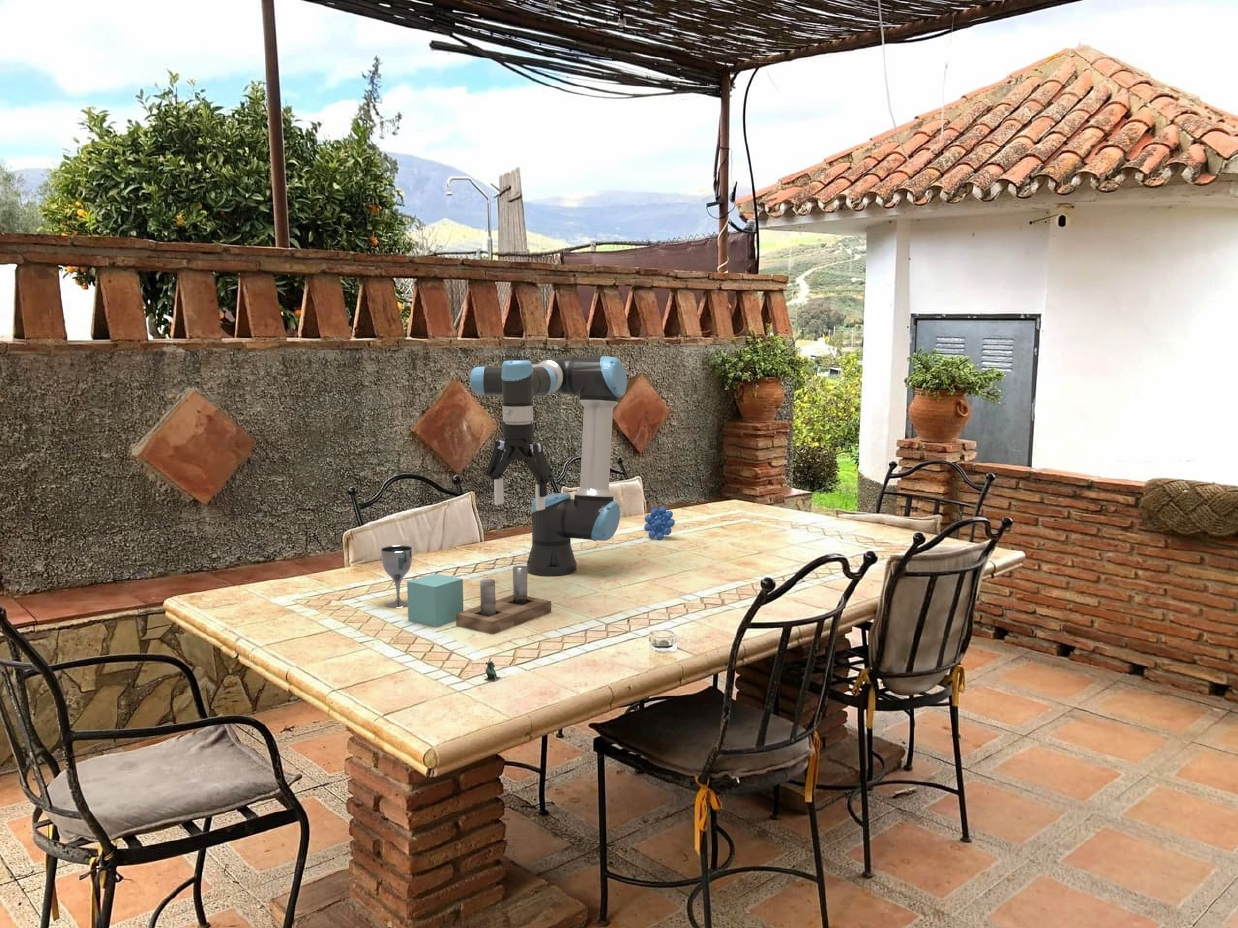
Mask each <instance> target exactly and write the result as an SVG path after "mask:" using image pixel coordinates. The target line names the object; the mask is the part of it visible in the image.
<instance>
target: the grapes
mask: <svg viewBox="0 0 1238 928" xmlns="http://www.w3.org/2000/svg"><path fill="white" fill-rule="evenodd" d="M673 515H674V513H673V510H667V508H666V506H664V505H663V506H662V505H661V506H659V508H657V507H652V508H651V509H650V513H649V514H646V515H645V517H644V522H646V524H644V525H643V526H644V527H643V529H644V531H645V532H648V537H649V538H650V539H655V538H656V539H657V540H663V538H665V536H669V535H670V534H672V528H673V527H674V526H675V524H676V521H675V519H674V518H673Z"/></svg>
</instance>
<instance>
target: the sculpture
mask: <svg viewBox="0 0 1238 928" xmlns="http://www.w3.org/2000/svg"><path fill="white" fill-rule="evenodd" d="M485 665H487V667H486V668H485V673H486V676H487V677H486V678H485V679H484V681H485V682H486V681H487V682H493V683H496V682H498V681H499V680H502V677H500V676H498V675H497V673H496V670H495V667H496V666H495V664H494V662H493V660H491V661H487V662H485Z"/></svg>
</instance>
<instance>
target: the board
mask: <svg viewBox="0 0 1238 928" xmlns="http://www.w3.org/2000/svg"><path fill="white" fill-rule="evenodd" d="M479 584H480V585H479V586H480V587H479V589H480V593H479V595H480V605H478V606H475V607H472V608H468V609H465V610H464V611H462V612H459V613H456V621H455V625H456V626H457V627H461V628H465V629H469V630H474V631H478V632H483V633H486V634H491V635H494V634H497V633H500V632H503V631H505V630H507V629H511V628H513V627H516V626H518V625H521V624H524V623H527V622H529V621H532V620H535V619H538V618H540V617H543V616H545V615H548V614H550V613H552V601H551V600H548V599H544V598H540V597H539V598H538V597H533V596H528V595H527V601H528V603H527V604H524V605H522V606H521V605H517V604H513V594H511V595H508V596H505V597H502V598H499V599H496V580H495V579H492V578H485V579H481V580H480V581H479Z"/></svg>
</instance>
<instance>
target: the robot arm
mask: <svg viewBox="0 0 1238 928" xmlns="http://www.w3.org/2000/svg"><path fill="white" fill-rule="evenodd" d="M627 384H628V383H627V373H626V370H625V366H624V364H623V363H622V361H621V359H619V358H617V357H614V356H607V355H606V356H605V355H602V356H599V355H598V356H591V355H590V356H589V355H588V356H576V355H575V356H565V357H560V358H559V357H558V358H554V359H547V360H542V361H541V362H539V363H537V364H536V363H534V364H532V362H531V360H525V359H523V360H519V359H517V360H505V361H503V363H502V365H501V366H499V365H498V366H486V365H484V366H476V367H474V368H473V369H472V371H471V372H470V375H469V387H470V389H471V391H472V392H473V393H474V394H475V395H477V396H502V421H503V422H504V423H503V424H502V438H503V439H504V440H503V439H501V440H495V441H494V449H493V452H492V455H491V457H490V459H489V463H488V466H487V468H486V471H485V475H486V476H487V477H490V478H491V481H492V491H493V493H494V494H493V496H494V506H499V505H503V504H505V497H504V496H505V490H504V487H505V486H504V478H503V474H504V473H505V472H506V470H507V468H508V467H509V466H510V464H511V462H512V461H515V460H516V461H520V462H521V461H522V462H523V463H525V464H526V467H527V468H528V469H529V470H530V473H531V474H532V475H533V477H534V479H535V480H536V482H537V483H536V484H535V497H534V498H533V500H532V501H531V511H530V513H531V548H530V552H529V555H528V559H527V562H526V566H527V573H529V574H531V575H538V576H542V577H543V576H545V577H546V576H548V577H549V576H552V577H555V576H564V575H569V574H573V573H575V572H576V571H577V570H578V569H577V567H578V566H577V560H576V559H575V555H574V552H573V551H574V550H573V548H572V542H571V541H572V539H575V540H587V541H588V540H589V541H594V542H598V541H601V542H602V541H604V542H605V541H609V540H611V538H613V537H614V535H615V534H616V532H617V530H618V527H619V524H620V520H621V509H620V508H621V506H620V505H619V503H618V502H616V501H614V499H615V498H614V497H615V496H614V494H613V493H612V492H611V490H610V475H611V455H612V454H611V453H612V434H613V433H612V432H613V417H614V416H613V414H614V408H615V407H617V405H618V404H619V398H621V397H624V395H625V393H626V390H627ZM552 393H553V394H561V395H568V396H578V397H579V399H578V403H580V404H581V405H582V407H583V417H582V418H583V423H582V438H581V439H582V440H581V441H582V442H581V461H580V478H579V479H580V481H579V483H580V484H579V488H578V490H577V491H576V492H574V497H573V498H574V499H573V498H572V496H571V494H570V493H568V492H560V493H557V492H556V493H550V494H548V491H547V490H548V483H550V482H553V481H554V479H555V478H554V476H553V474H552V471H551V468H550V465H549V463H548V461H547V458H546V456H545V452H544V445H543V443H541V442H537V443H533V438H534V424H533V423H532V422H533V421H534V403H533V402H534V400H533V397H544V396H548V395H550V394H552ZM504 451H505V452H504ZM503 453H504V454H503Z"/></svg>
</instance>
